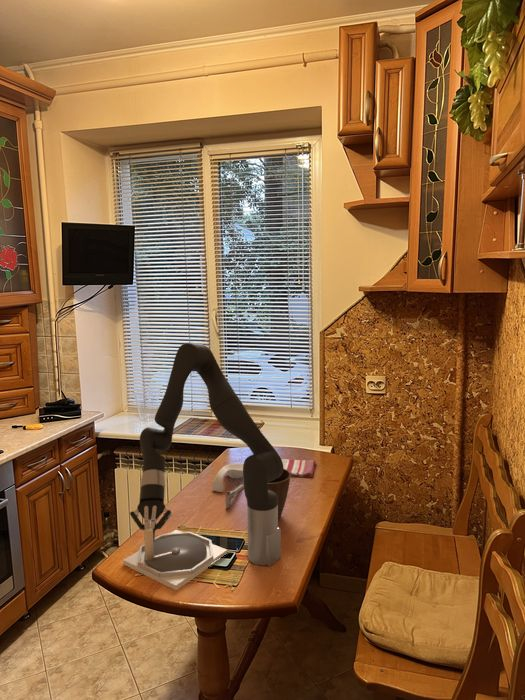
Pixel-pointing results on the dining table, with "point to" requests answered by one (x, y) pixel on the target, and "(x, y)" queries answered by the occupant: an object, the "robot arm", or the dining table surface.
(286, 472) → the plant pot
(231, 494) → the caliper
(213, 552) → the dial plate
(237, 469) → the spoon rest
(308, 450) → the dining table surface
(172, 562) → the dial
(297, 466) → the dish towel
